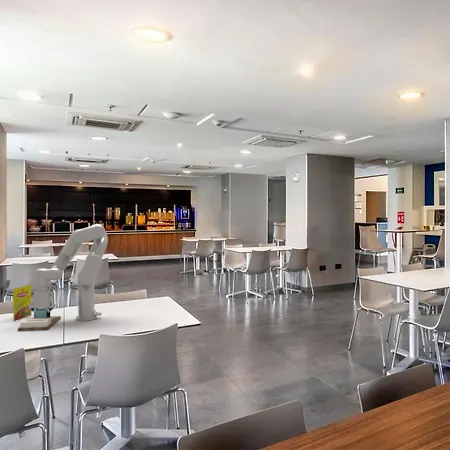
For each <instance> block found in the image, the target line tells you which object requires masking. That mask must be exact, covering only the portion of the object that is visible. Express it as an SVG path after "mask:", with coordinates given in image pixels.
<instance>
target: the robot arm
mask: <svg viewBox="0 0 450 450" xmlns="http://www.w3.org/2000/svg"><path fill="white" fill-rule="evenodd" d="M107 233H108V232H107V231H106V229H105V227H104V225H102V224H99V223H95V224H93V225H91V226H88V227H84V228H81V229H75V230H74V231H72V233H71V234H70V236H69V237H68V239H67V240H66V241H65V244H64V245H63V247H62V249H61V250H60V251H59V252H60V253H59V254H58V256H57V258H56V259H55V261H54V263H53V264H52V266H51V268H47V267H41V268H36V269H35V270H34V291H33V293H32V295H33V296H32V300H31V304H30V305H29V306H28V307H29V308H30V309H31V312H33V317H34V318H35V311H36V310H37V309H43V308H46V309H47V318H50V316H51V312H52V311H53V310H54V308H56V306H57V304H56V303H54V302H53V298H52V297H53V296H52V291H51V289H52V286H50V281H59V280H61V279H62V278H63V273H64V271H65V270H66V268H67V266H68V265H69V263H70V262H71V261H72V260H73V259H74V258H75V256H76V254H77V253H78V251H79V250H80V249H81V246H82V245H83V244H85V243H87V242H92V241H93V242H92V245H91V247H90V250H89V252H88V253H87V255H86V256H85V262H84V265H83V266H82V269H80V270H79V272H78V274H77V291H78V293H77V295H78V296H77V299H78V300H77V301H78V303H77V304H78V307H77V312H78V315H76V316H75V321H80V322H89V321H93V320H95V319H97V318H98V317H99V316H101V317H102V312H101V311H96V309H95V281H96V279H97V276H98V274H99V272H100V270H101V267H102V265H103V262H104V261H103V257H104V255H105V252H106V249H107V246H108V243H109V237H108V234H107Z"/></svg>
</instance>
